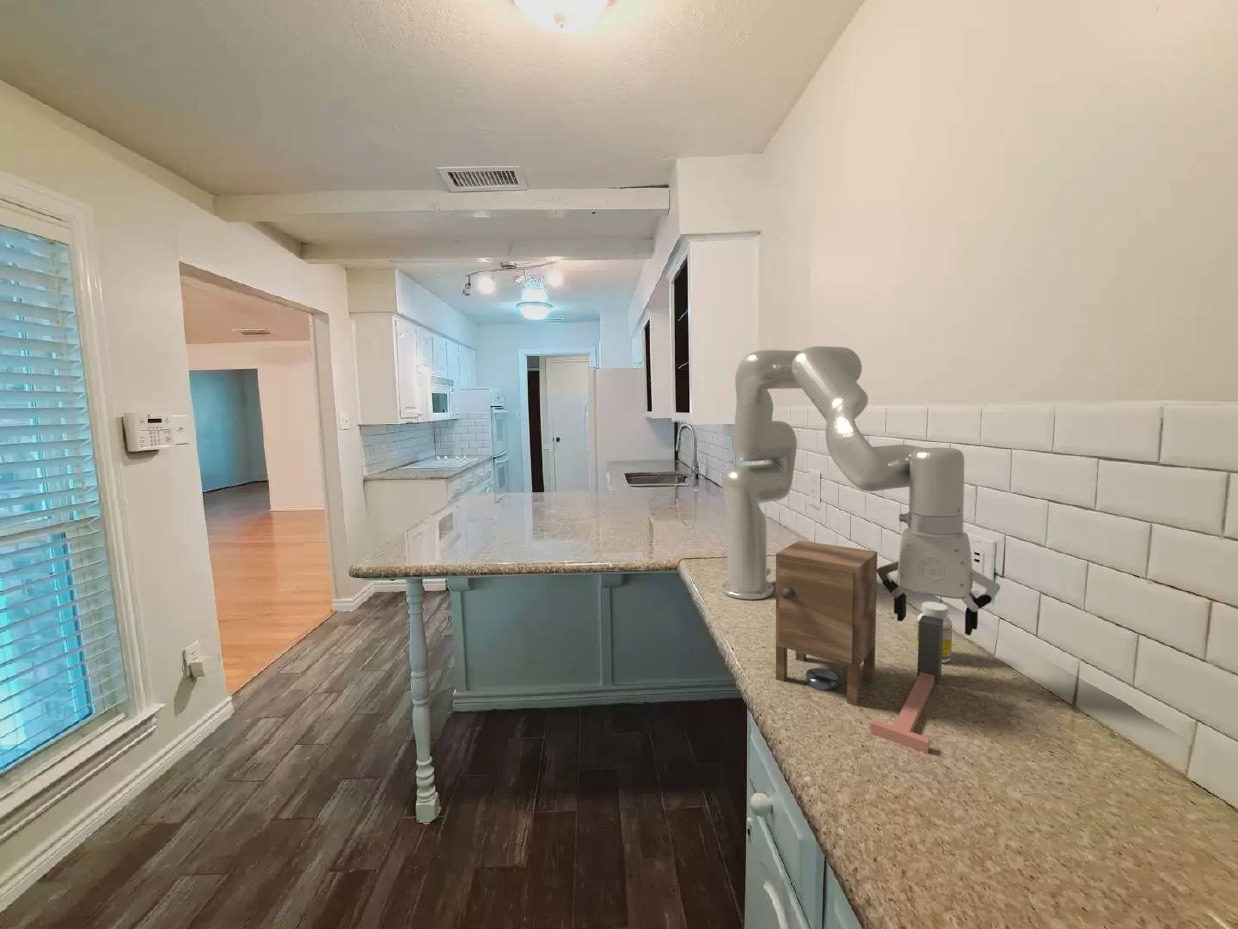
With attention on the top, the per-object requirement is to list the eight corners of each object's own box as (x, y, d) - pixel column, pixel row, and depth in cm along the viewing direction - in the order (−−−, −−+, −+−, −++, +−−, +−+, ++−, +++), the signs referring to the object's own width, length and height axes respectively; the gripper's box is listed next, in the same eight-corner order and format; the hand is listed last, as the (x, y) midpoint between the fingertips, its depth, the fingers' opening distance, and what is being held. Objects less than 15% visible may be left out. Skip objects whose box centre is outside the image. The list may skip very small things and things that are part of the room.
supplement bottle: (957, 663, 91) (960, 610, 90) (928, 664, 90) (930, 612, 89) (937, 648, 96) (939, 599, 95) (910, 650, 96) (911, 600, 95)
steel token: (812, 673, 89) (812, 665, 89) (842, 682, 86) (842, 674, 86) (801, 685, 86) (801, 677, 85) (832, 696, 82) (832, 687, 82)
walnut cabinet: (798, 656, 95) (799, 540, 92) (874, 678, 86) (877, 551, 84) (771, 682, 86) (771, 555, 84) (853, 710, 78) (855, 570, 75)
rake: (907, 667, 90) (909, 612, 89) (955, 679, 85) (957, 622, 84) (870, 732, 72) (872, 665, 71) (927, 753, 68) (930, 682, 67)
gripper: (871, 522, 86) (871, 620, 88) (999, 534, 75) (996, 647, 76) (883, 514, 92) (883, 607, 93) (1003, 525, 81) (1000, 630, 82)
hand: (934, 625), depth 85 cm, fingers open, 9 cm apart
